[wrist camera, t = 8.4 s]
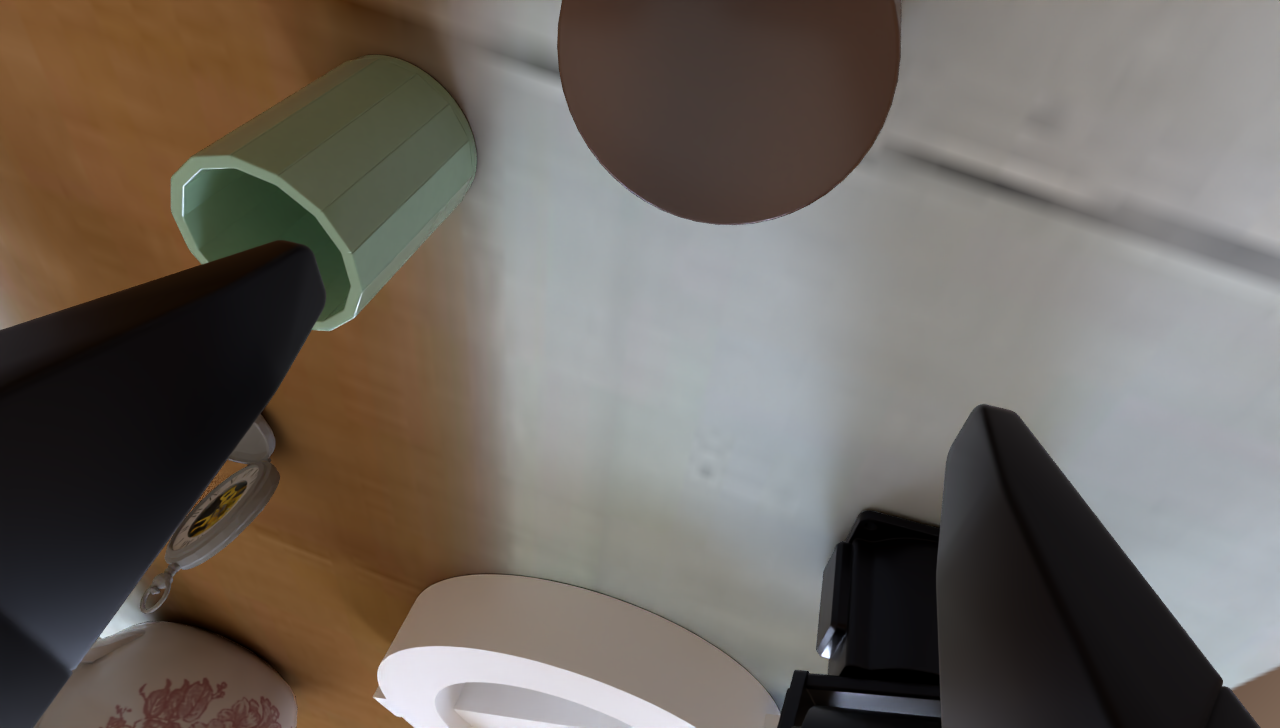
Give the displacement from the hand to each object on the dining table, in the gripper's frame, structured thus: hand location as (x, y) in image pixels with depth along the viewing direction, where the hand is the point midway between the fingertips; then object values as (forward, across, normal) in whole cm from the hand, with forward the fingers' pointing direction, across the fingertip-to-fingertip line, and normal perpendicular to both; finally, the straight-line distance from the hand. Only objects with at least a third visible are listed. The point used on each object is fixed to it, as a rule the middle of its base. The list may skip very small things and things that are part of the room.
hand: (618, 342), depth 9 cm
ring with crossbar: (+13, +4, +46) cm, 48 cm away
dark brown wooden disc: (+8, 0, -1) cm, 8 cm away
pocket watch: (+13, +25, +25) cm, 38 cm away
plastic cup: (+12, +11, +5) cm, 17 cm away
